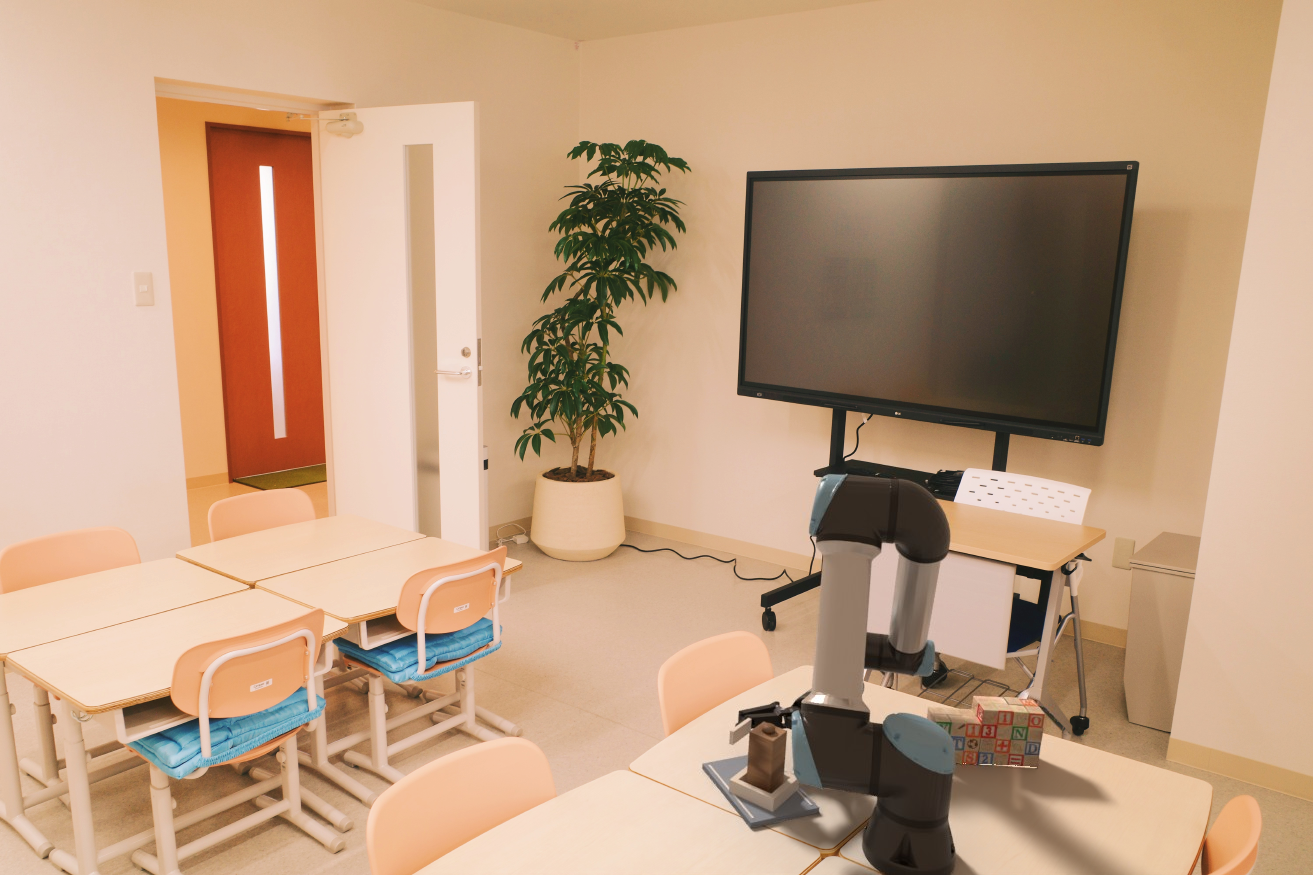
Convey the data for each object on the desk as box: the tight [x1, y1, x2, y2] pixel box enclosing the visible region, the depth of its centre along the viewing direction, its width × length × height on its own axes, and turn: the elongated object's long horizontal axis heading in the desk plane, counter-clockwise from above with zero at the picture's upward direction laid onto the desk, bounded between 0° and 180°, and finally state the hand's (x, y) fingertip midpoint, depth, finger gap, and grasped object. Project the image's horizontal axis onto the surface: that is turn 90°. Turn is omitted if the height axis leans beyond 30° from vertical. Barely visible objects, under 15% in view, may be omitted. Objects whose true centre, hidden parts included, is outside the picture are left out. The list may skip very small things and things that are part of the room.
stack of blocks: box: [926, 695, 1046, 768], centre depth 180 cm, size 21×6×12 cm, turn 88°
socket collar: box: [729, 766, 800, 812], centre depth 164 cm, size 9×9×2 cm
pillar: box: [746, 722, 788, 794], centre depth 163 cm, size 5×5×13 cm
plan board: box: [701, 754, 820, 829], centre depth 167 cm, size 20×14×1 cm
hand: (762, 750), depth 162 cm, fingers open, 13 cm apart
